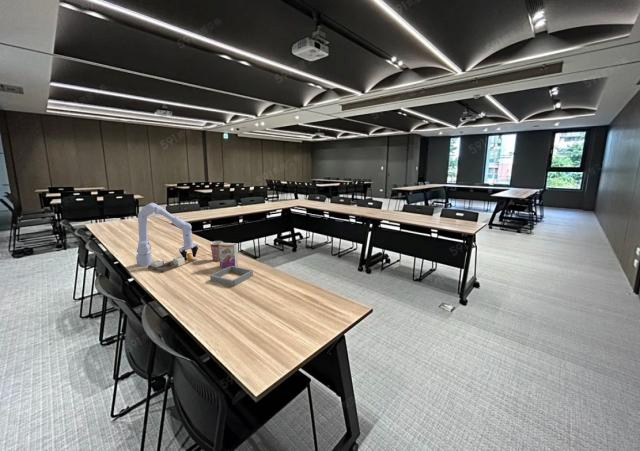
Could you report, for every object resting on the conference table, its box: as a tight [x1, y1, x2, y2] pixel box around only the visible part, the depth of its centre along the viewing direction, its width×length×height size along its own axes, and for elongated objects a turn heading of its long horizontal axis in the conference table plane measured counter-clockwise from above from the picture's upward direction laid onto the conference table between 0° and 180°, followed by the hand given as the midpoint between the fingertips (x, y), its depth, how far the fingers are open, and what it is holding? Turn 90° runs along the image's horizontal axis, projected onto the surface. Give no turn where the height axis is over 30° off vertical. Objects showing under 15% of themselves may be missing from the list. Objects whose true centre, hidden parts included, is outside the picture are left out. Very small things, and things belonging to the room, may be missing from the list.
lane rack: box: [147, 258, 197, 273], centre depth 188 cm, size 15×26×3 cm, turn 155°
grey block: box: [151, 260, 163, 267], centre depth 181 cm, size 5×5×4 cm
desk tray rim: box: [209, 266, 254, 288], centre depth 168 cm, size 18×18×4 cm
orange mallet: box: [172, 252, 193, 267], centre depth 191 cm, size 5×13×5 cm, turn 155°
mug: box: [209, 240, 224, 263], centre depth 199 cm, size 13×9×14 cm
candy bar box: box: [218, 242, 239, 268], centre depth 185 cm, size 11×5×16 cm, turn 84°
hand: (189, 258), depth 195 cm, fingers open, 7 cm apart
